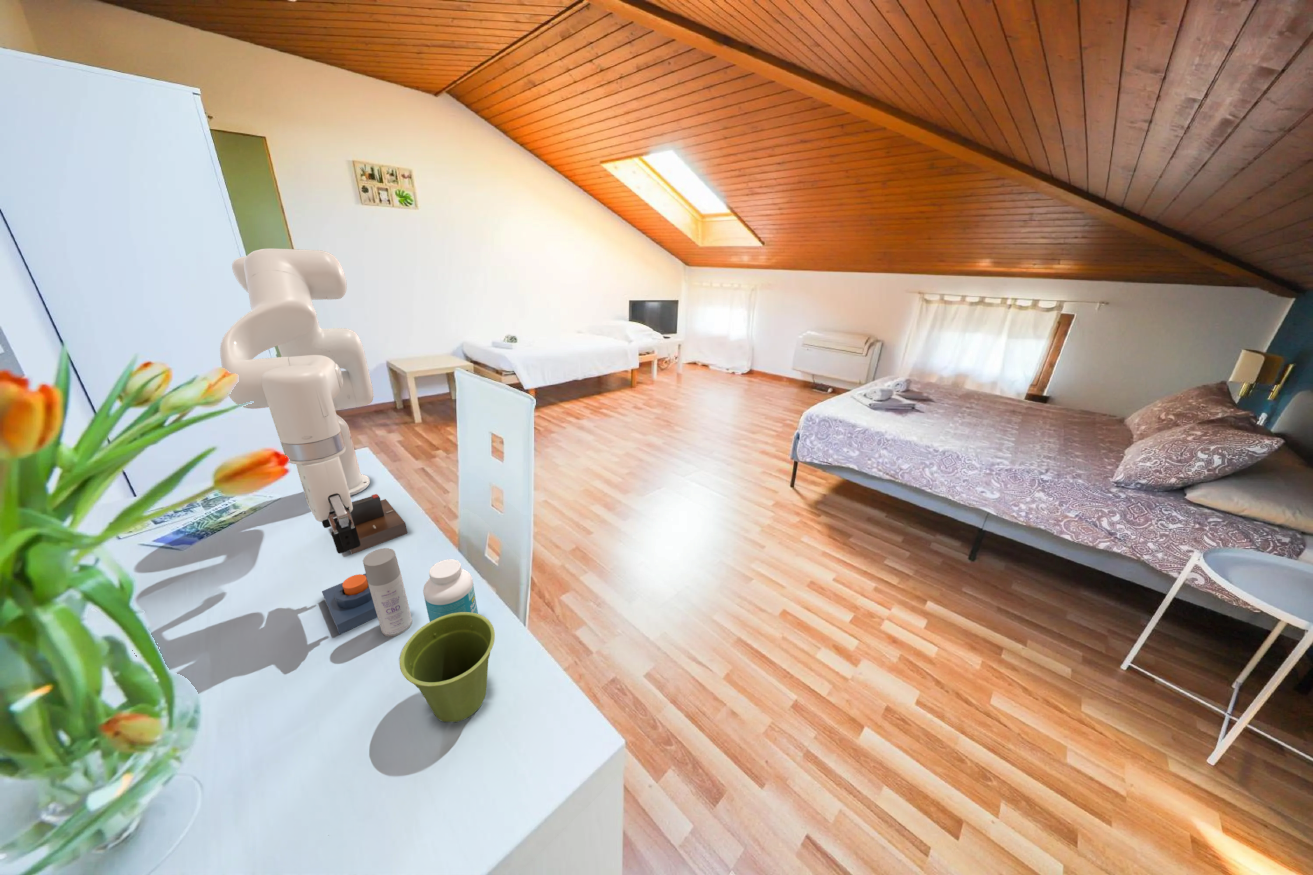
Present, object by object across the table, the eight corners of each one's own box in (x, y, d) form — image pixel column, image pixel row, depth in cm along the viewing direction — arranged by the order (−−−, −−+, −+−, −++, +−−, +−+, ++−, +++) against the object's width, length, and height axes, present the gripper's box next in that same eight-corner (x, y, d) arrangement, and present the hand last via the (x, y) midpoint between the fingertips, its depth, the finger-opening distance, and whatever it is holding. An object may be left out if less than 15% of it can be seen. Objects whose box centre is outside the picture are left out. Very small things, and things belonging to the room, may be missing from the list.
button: (342, 588, 77) (339, 580, 77) (365, 578, 80) (363, 571, 79) (347, 598, 75) (345, 591, 75) (370, 588, 78) (368, 581, 77)
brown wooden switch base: (335, 526, 100) (332, 514, 99) (388, 509, 107) (385, 498, 106) (352, 554, 91) (348, 542, 90) (407, 533, 99) (405, 522, 97)
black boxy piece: (354, 525, 96) (348, 505, 94) (352, 522, 97) (346, 502, 95) (384, 515, 100) (379, 496, 98) (382, 512, 101) (377, 493, 99)
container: (393, 640, 72) (374, 569, 66) (375, 630, 74) (355, 560, 68) (418, 621, 76) (402, 552, 70) (400, 611, 78) (383, 544, 72)
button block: (324, 600, 79) (318, 583, 78) (379, 577, 85) (375, 561, 84) (339, 635, 72) (333, 617, 71) (398, 607, 79) (393, 590, 77)
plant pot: (395, 722, 60) (377, 665, 55) (458, 655, 70) (448, 602, 65) (462, 756, 56) (449, 698, 52) (519, 679, 66) (512, 626, 62)
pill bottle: (485, 633, 74) (476, 571, 69) (439, 655, 70) (425, 591, 64) (472, 607, 79) (462, 548, 74) (428, 626, 75) (414, 564, 70)
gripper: (274, 435, 70) (304, 523, 76) (294, 472, 59) (327, 571, 65) (330, 425, 75) (353, 508, 81) (357, 456, 64) (382, 549, 71)
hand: (341, 536), depth 73 cm, fingers open, 9 cm apart
